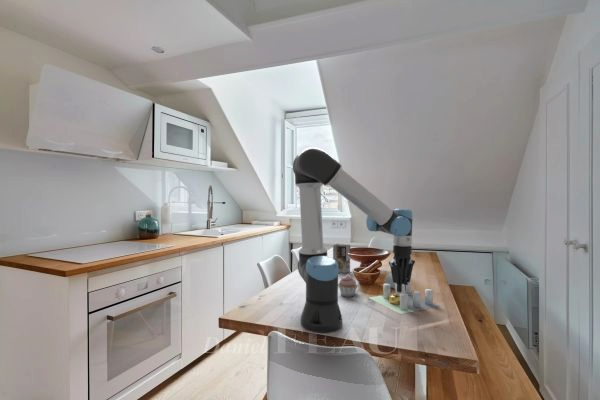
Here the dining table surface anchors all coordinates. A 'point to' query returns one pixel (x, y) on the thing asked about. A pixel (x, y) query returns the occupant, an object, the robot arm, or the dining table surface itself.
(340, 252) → the coffee box
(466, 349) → the dining table surface
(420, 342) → the dining table surface
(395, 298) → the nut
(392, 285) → the ceramic mug
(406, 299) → the tray
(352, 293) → the cupcake
